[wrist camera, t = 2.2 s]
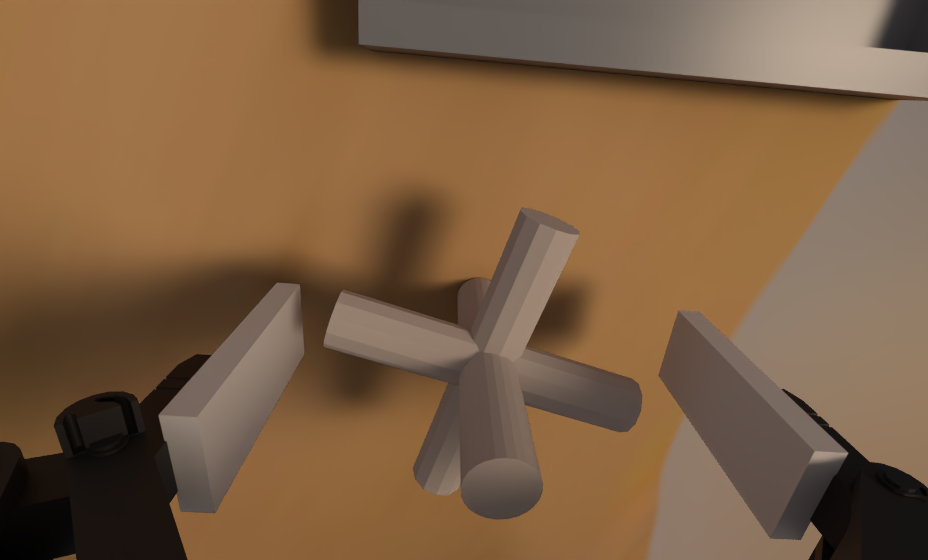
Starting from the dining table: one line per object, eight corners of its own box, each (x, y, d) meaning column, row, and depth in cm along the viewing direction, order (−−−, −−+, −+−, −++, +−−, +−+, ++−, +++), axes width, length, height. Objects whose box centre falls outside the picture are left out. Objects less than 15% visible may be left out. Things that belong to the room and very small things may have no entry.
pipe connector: (399, 140, 17) (332, 203, 7) (639, 228, 18) (829, 371, 9) (334, 359, 20) (235, 585, 11) (539, 418, 22) (601, 659, 13)
